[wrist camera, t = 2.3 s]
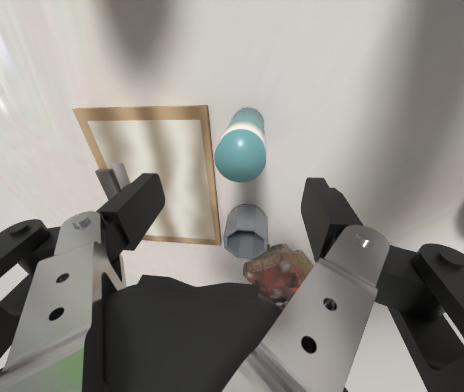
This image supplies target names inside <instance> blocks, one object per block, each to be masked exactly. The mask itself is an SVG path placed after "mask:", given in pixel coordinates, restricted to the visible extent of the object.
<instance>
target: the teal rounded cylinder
mask: <svg viewBox="0 0 464 392" xmlns="http://www.w3.org/2000/svg"><path fill="white" fill-rule="evenodd" d="M265 162H266V142H265V135H264V120H263V117H262V115H261V114H260V113H259V112H258V111H257V110H256V109H253V108H243V109H241V110H239V111H238V112H237V113H236V114H235V115H234V117H233V119H232V121H231V122H230V124H229V126H228V128H227V129H226V131H225V132H224V134H223V136H222V138H221V139H220V141H219V144H218V146H217V148H216V151H215V164H216V167H217V169H218V170H219V172H220V173H221V174H222V175H223V176H224V177H225V178H227V179H229V180H231V181H234V182H247V181H250V180H253V179H255V178H256V177H257V176H258V175H260V173H261V172H262V171H263V169H264V166H265Z"/></svg>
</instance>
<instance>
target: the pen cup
mask: <svg viewBox="0 0 464 392" xmlns="http://www.w3.org/2000/svg"><path fill="white" fill-rule="evenodd" d="M267 243H268V229H267V216H266V215H265V213H264V212H263V211H262V210H261V209H260V208H258V207H257V206H254V205H249V204H244V205H239V206H237V207H235V208H234V209H233V210H232V211H231V212H230V214H228V218H227V223H226V227H225V232H224V248H225V249H226V250H228V251H229V252H230V253H232V254H233V255H235V256H236V257H240V258H253V259H254V258H256V257H258V256H259V255H261V254H263V253H265V252H267Z"/></svg>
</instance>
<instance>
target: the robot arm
mask: <svg viewBox="0 0 464 392" xmlns="http://www.w3.org/2000/svg"><path fill="white" fill-rule="evenodd" d="M164 205H165V195H164V191H163V187H162V184H161V180H160V177H159V175H158V174H157V173H142V174H141V175H140V176H139V177H138V178H137V179H135V180H134V181H133V182H132V183H130V184H128V185H126V186H125V187H123V188H122V189H121V190H120V191H119V192H118V193H117V194H115V195H114V197H112V198H111V199H110V200H109V201H107V202H106V203H105V204H104V205H103V206H102V207H101V208H100V209H98V210H97V211H96V212H95V211H88V212H83V213H80V214H77V215H75V216H73V217H71V218H69V219H68V220H66V221H65V222H64V223H63V224H62V226H61V227H54V228H48V229H47V228H46V226H45V225H44V224H43V222H42V221H41V220H38V219H33V220H27V221H23V222H20V223H17V224H15V225H13V226H11V227H9V228H7V229H5V230H4V231H2V232H1V233H0V277H1V276H3V275H4V274H5V273H6V272H7V271H9V270H10V269H11V268H12V267H13V266H15V265H16V264H17V263H18V264H19V265H20V266H21V267H22V268H23V269H24V270H25V271H26V272H27V273H28V274H29V275H28V276H27V277H26V278H25V279H23V280H22V281H21V282H20V283H19V284H18V285H17V286H16V287H15V288H14V289H13V290H12V291H11V292H10V293H9V294H8V295H7V296H6V297H5V298H4V299H3V300H1V301H0V358H1V357H2V355H3V354H4V353H5V352H6V351H7V349H8V348H9V347H10V346H11V345H12V346H11V349H10V352H9V356H8V358H7V362H6V364H5V367H3V368H2V369H0V392H348V391H347V389H346V388H345V384H346V381H347V378H348V375H349V372H350V369H351V366H352V363H353V361H354V358H355V355H356V352H357V349H358V347H359V343H360V341H361V338H362V335H363V332H364V329H365V327H366V324H367V321H368V318H369V315H370V312H371V309H372V306H373V303H374V302H377V303H379V304H382V305H385V306H387V307H388V309H389V311H390V313H391V315H392V317H393V319H394V322H395V324H396V326H397V328H398V330H399V332H400V334H401V336H402V338H403V340H404V342H405V345H406V347H407V349H408V351H409V353H410V355H411V357H412V359H413V361H414V364H415V366H416V368H417V370H418V372H419V374H420V376H421V378H422V380H423V382H424V384H425V387H426V389H427V391H428V392H464V345H463V343H462V342H461V340H460V339H459V338H458V336H457V335H456V333H455V332H454V330H453V329H452V327H451V326H450V324H449V323H448V321H447V320H446V319H445V317H444V316H443V313H445V312H446V313H447V314H448V316H449V317H450V319H451V320H452V321H453V323H454V324H455V326H456V327H457V329H458V330H459V331H460V333H461V334H462V336H463V338H464V254H463V253H461V252H459V251H457V250H455V249H452V248H450V247H447V246H444V245H439V244H425V245H423V246H421V248H420V249H419V250H418V252H413V251H409V250H406V249H402V248H398V247H394V246H391V245H389V242H388V241H387V239H386V238H385V237H384V236H383V235H382V234H380V233H379V232H377V231H376V230H374V229H371V228H369V227H366V226H363V224H362V223H361V221H360V220H359V218H358V217H357V215H356V214H355V212H354V211H353V209H352V208H351V207H350V205H349V203H348V202H347V200H346V199H345V197H344V195H343V194H342V193H341V192H339V191H338V190H336V189H335V188H329V186H328V184H327V183H326V181H325V179H324V178H307V179H306V183H305V188H304V192H303V197H302V202H301V214H302V218H303V221H304V224H305V228H306V231H307V235H308V238H309V242H310V245H311V249H312V252H313V255H314V259H315V262H316V264H315V266H314V267H313V269H312V270H311V271H310V273H309V274H308V276H307V277H306V279H305V280H304V281H303V283H302V284H301V286H300V287H299V289H298V290H297V291H296V293H295V294H294V296H293V297H292V299H291V300H290V301H289V303H288V304H287V306H286V307H285V309H284V310H283V309H282V308H281V307H280V306H278V305H277V304H275V303H274V302H272V301H271V300H269V299H267V298H265V297H263V296H260V295H258V285H251V284H240V283H229V282H228V283H221V284H215V285H208V286H202V287H194V286H191V285H189V284H186V283H183V282H181V281H178V280H176V279H173V278H170V277H162V276H151V275H142V277H141V279H140V280H139V282H138V284H136V285H132V286H129V287H127V286H126V279H125V272H124V264H123V258H122V255H121V254H120V253H121V252H122V251H123V250H131V251H134V250H135V249H136V247H137V246H138V244H139V243H140V241H141V240H142V238H143V237H144V235H145V234H146V232H147V231H148V230H149V228H150V227H151V225H152V224H153V222H154V221H155V219H156V218H157V216H158V215H159V213H160V212H161V211H162V209H163V208H164Z"/></svg>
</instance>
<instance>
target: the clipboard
mask: <svg viewBox="0 0 464 392" xmlns="http://www.w3.org/2000/svg"><path fill="white" fill-rule="evenodd" d="M72 110H73V112H74V114H75V116H76V118H77V120H78V123H79V125H80V127H81V129H82V131H83V133H84V136H85V138H86V140H87V142H88V144H89V147H90V149H91V151H92V153H93V155H94V157H95V160H96V162H97V164H98V166H99V168H100V169H98V170H97V171H95V172H96V175H97V177H98V179H99V181H100V183H101V185H102V187H103V189H104V191H105V193H106V195H107V198H108V200H110V199H111V198H112V197H114V195H115V194H117V193H118V192H119V191H120V190H121V189H122V188H123V187H125V186H126V185H128V184H130V183H132V182H133V181H134V180H135V179H137V178H138V177H139V176H140V175H141V174H142V173H157V174H158V175H159V177H160V180H161V184H162V187H163V191H164V195H165V205H164V208H163V209H162V211H161V212H160V213H159V215H158V216H157V218H156V219H155V221H154V222H153V224H152V225H151V227H150V228H149V230H148V231H147V232H146V234H145V235H144V237H143V238H142V240H153V241H167V242H182V243H196V244H210V245H221V235H220V225H219V215H218V204H217V194H216V184H215V174H214V164H213V154H212V143H211V133H210V123H209V113H208V105H201V106H155V107H110V108H76V109H72Z"/></svg>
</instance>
